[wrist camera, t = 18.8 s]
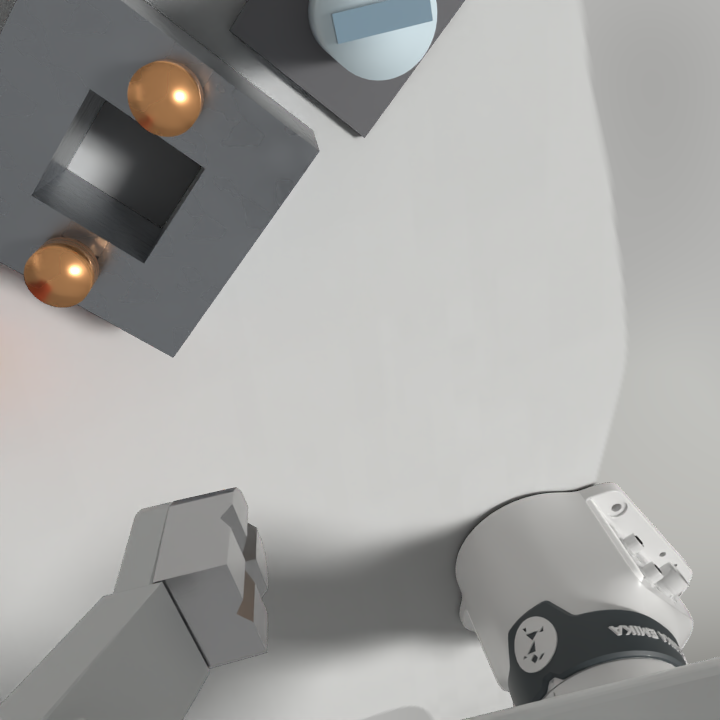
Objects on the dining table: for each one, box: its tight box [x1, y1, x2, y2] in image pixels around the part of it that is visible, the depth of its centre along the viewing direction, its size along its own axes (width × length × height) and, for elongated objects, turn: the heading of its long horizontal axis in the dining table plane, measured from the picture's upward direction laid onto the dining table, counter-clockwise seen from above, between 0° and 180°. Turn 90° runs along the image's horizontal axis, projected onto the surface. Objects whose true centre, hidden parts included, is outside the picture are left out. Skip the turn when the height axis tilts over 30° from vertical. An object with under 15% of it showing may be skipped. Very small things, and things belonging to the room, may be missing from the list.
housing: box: [0, 0, 319, 357], centre depth 34 cm, size 14×14×6 cm
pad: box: [229, 0, 465, 138], centre depth 34 cm, size 9×9×1 cm
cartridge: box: [308, 0, 437, 81], centre depth 29 cm, size 4×4×12 cm
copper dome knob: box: [127, 59, 204, 137], centre depth 30 cm, size 3×3×4 cm
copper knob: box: [24, 237, 99, 307], centre depth 33 cm, size 3×3×4 cm
